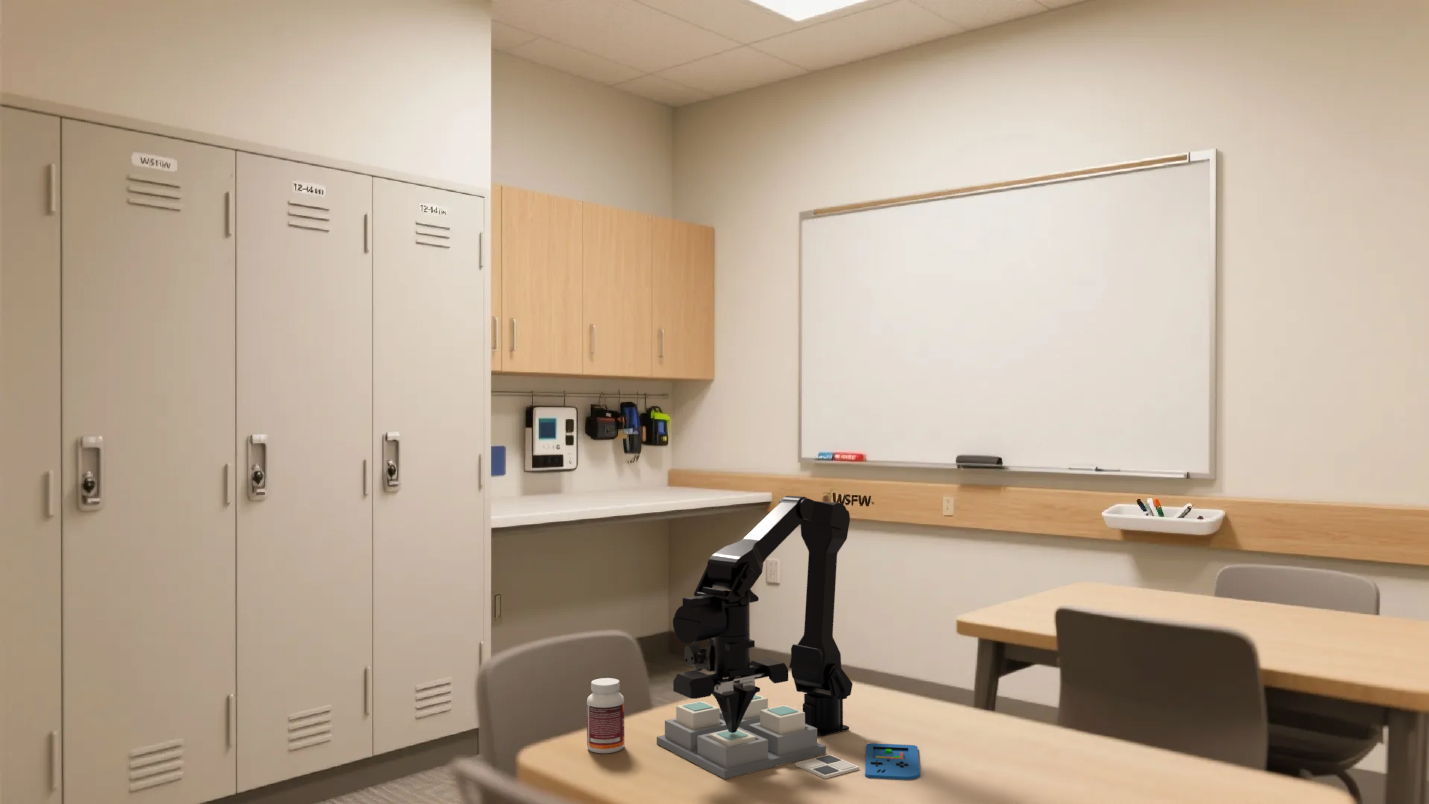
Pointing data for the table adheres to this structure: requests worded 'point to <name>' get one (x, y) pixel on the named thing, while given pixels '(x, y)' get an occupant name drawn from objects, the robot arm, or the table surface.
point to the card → (827, 766)
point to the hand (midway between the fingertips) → (732, 732)
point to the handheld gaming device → (892, 761)
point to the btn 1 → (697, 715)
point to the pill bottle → (605, 716)
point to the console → (740, 747)
